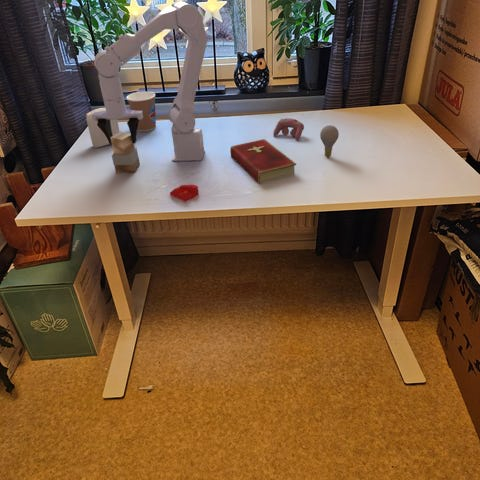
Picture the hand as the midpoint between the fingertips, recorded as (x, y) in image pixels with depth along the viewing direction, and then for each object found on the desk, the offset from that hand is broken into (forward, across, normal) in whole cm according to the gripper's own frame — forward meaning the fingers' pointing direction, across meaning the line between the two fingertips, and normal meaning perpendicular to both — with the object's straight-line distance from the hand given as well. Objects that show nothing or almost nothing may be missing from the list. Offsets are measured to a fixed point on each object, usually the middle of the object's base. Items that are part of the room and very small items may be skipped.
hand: (123, 142), depth 133 cm
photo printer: (+9, +13, -20) cm, 25 cm away
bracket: (+9, -20, +18) cm, 28 cm away
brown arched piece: (+9, -50, -22) cm, 56 cm away
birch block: (+3, 0, 0) cm, 3 cm away
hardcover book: (+9, -42, 0) cm, 43 cm away
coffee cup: (+9, +2, -34) cm, 35 cm away
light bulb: (+9, -62, -5) cm, 63 cm away
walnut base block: (+9, 0, 0) cm, 9 cm away
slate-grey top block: (+6, 0, 0) cm, 6 cm away
